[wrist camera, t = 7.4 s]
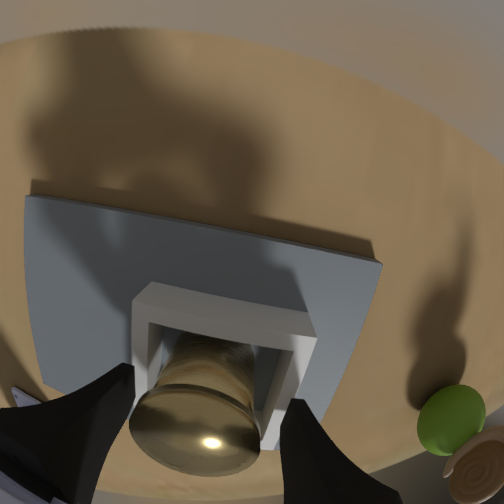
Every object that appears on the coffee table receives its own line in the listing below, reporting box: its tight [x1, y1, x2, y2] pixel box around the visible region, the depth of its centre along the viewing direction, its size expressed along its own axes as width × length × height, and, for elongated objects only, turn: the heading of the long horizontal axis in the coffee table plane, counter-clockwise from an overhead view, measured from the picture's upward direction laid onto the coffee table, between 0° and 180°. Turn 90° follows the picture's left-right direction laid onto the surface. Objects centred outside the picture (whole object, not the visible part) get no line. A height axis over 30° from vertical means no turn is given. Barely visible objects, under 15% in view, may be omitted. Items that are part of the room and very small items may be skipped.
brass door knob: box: [129, 331, 261, 477], centre depth 12 cm, size 5×5×6 cm
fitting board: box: [24, 194, 383, 450], centre depth 14 cm, size 14×20×4 cm
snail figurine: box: [417, 385, 504, 504], centre depth 11 cm, size 5×6×12 cm
